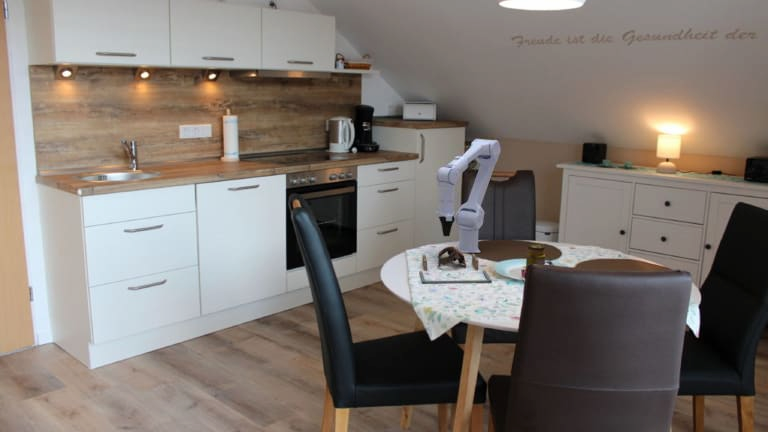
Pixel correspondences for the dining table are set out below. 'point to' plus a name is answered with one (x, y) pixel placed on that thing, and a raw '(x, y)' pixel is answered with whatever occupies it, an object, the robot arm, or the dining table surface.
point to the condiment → (535, 255)
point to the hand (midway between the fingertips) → (446, 235)
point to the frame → (457, 281)
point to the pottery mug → (451, 256)
